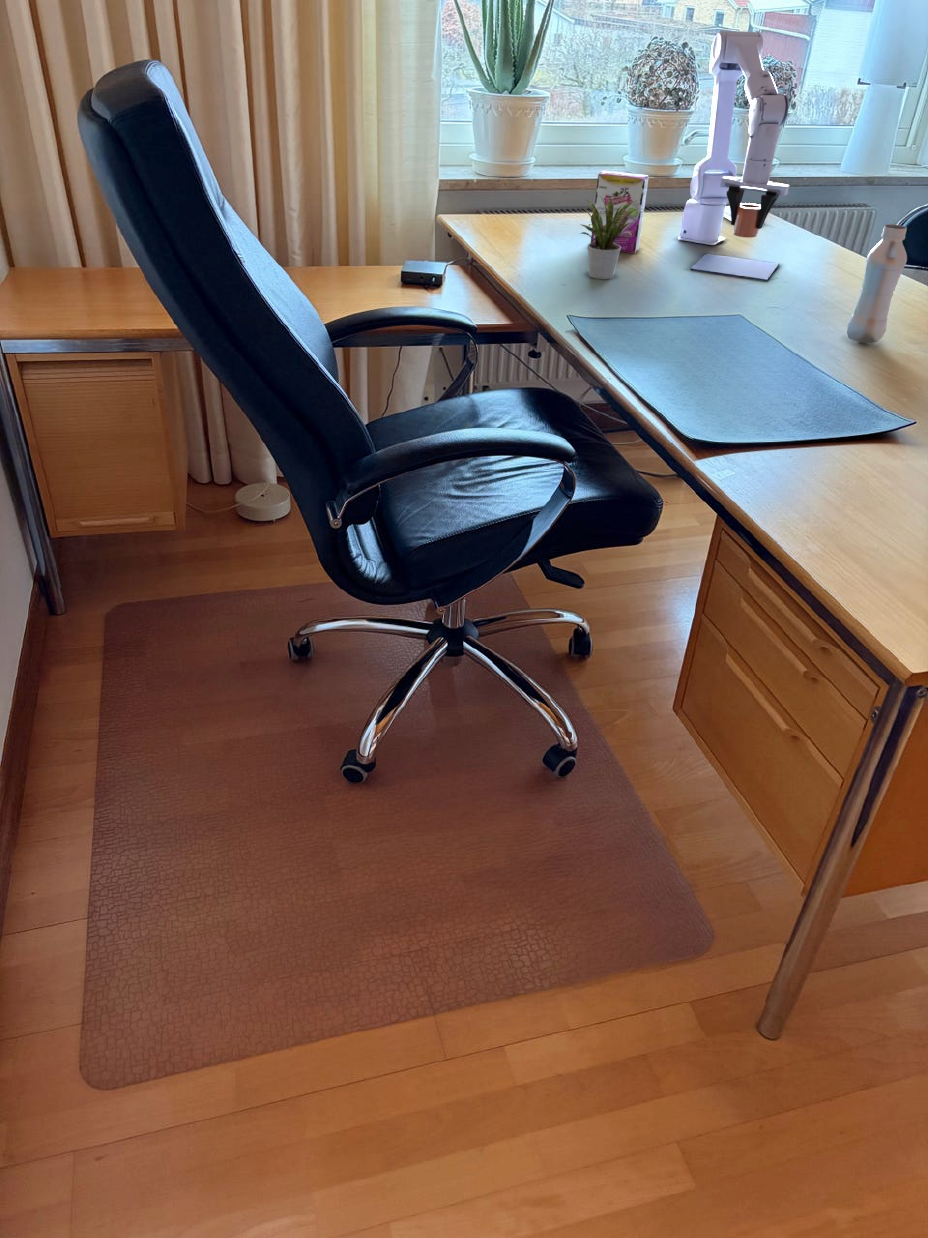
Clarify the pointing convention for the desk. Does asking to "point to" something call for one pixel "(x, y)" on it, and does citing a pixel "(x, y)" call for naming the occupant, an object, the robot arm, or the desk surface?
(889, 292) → the plastic bottle
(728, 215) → the hard drive
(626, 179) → the candy bar box
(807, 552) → the desk surface
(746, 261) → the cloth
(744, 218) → the cup
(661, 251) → the desk surface
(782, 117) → the robot arm
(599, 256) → the house plant
